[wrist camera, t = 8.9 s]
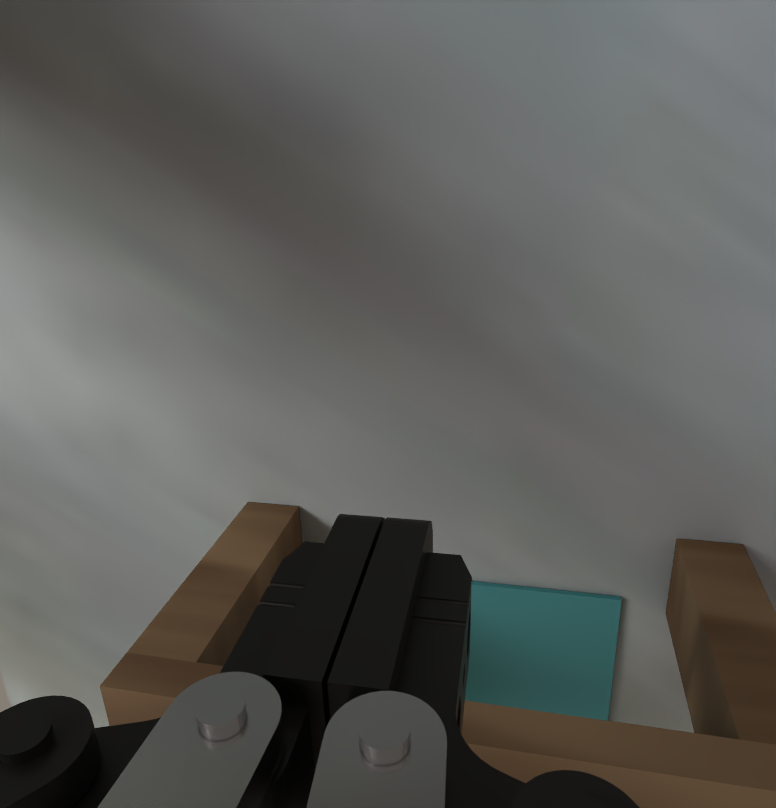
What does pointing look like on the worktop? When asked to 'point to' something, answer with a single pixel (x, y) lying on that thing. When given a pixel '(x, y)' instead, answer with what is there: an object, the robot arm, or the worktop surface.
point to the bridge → (507, 726)
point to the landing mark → (542, 649)
